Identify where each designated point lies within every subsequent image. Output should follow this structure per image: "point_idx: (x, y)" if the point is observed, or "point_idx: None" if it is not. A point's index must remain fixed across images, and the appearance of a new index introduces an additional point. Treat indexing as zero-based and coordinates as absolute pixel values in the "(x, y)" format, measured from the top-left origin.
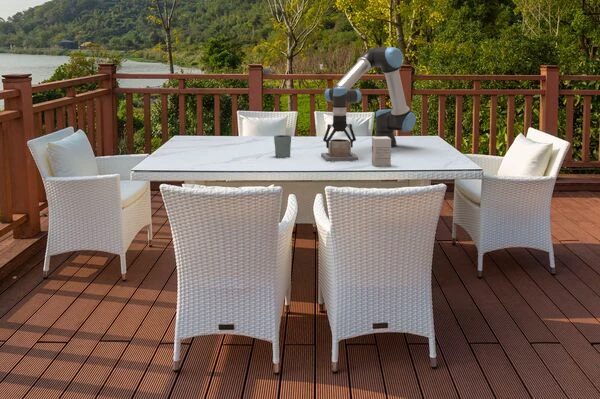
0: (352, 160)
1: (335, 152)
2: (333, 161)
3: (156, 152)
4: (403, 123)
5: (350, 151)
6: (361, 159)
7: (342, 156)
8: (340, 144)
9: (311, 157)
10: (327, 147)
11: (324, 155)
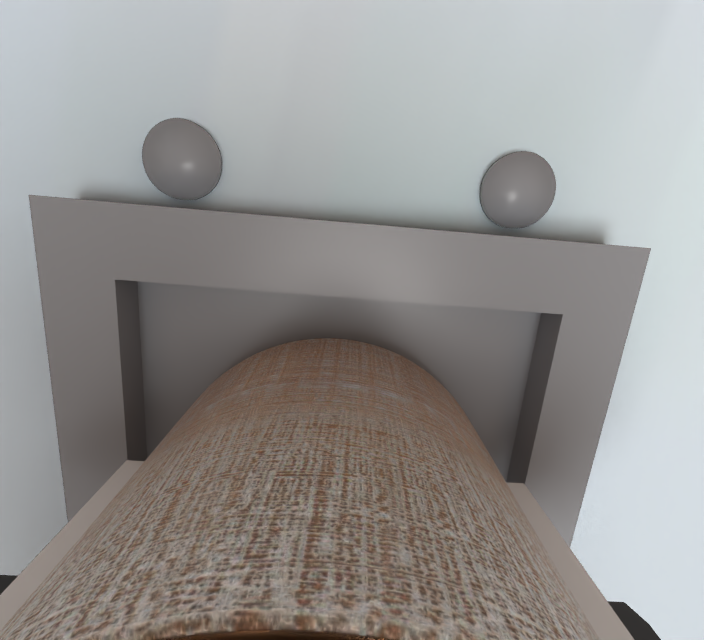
0: (178, 186)
1: (452, 411)
2: (524, 153)
3: None
4: None
5: (108, 489)
6: (11, 314)
7: (316, 340)
8: (366, 500)
9: (649, 598)
10: (625, 618)
11: (573, 494)
